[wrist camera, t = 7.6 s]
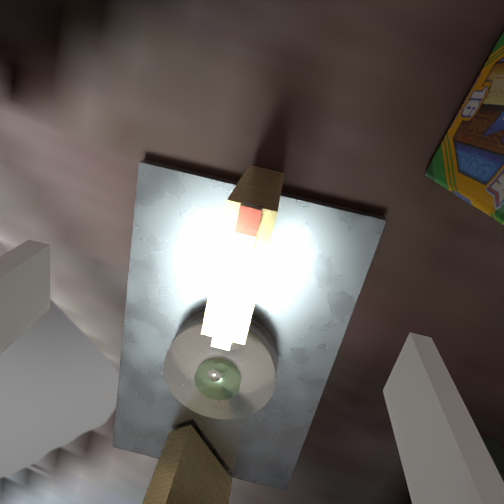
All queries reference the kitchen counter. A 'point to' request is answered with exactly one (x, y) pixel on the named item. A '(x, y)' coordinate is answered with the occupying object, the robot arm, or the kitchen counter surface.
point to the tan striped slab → (241, 255)
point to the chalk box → (477, 143)
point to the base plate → (281, 304)
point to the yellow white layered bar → (188, 472)
